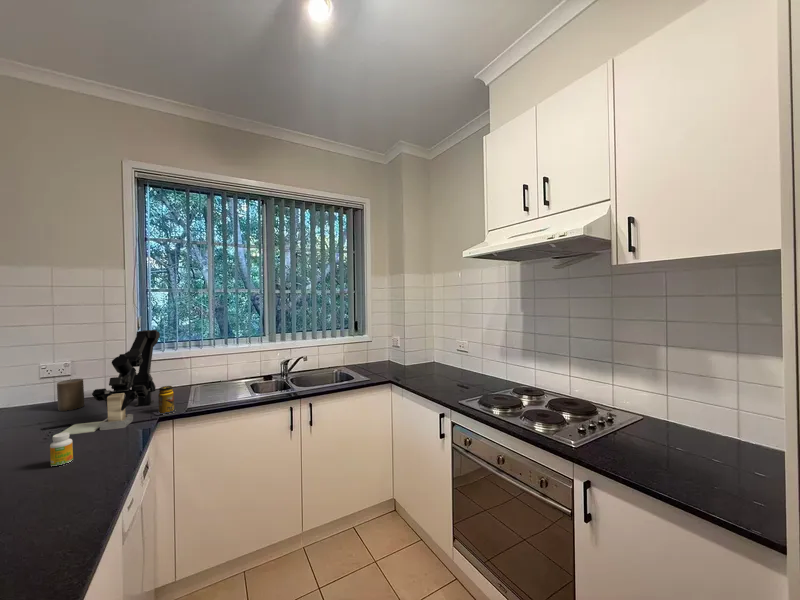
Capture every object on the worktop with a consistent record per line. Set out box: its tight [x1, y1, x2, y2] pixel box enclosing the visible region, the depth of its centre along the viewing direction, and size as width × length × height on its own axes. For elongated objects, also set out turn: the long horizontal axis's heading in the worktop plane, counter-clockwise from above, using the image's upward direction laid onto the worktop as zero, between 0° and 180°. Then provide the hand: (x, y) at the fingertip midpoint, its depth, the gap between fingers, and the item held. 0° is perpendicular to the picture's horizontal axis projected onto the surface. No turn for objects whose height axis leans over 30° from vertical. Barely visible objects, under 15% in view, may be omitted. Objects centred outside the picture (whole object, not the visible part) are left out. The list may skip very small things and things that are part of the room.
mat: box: [60, 420, 103, 435], centre depth 145 cm, size 12×12×1 cm
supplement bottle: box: [49, 432, 74, 467], centre depth 115 cm, size 5×5×10 cm
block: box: [106, 393, 127, 422], centre depth 148 cm, size 4×4×13 cm
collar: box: [99, 413, 134, 431], centre depth 148 cm, size 8×8×3 cm
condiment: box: [158, 385, 175, 413], centre depth 164 cm, size 7×8×12 cm
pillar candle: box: [56, 378, 85, 412], centre depth 172 cm, size 10×10×15 cm
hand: (115, 410), depth 147 cm, fingers closed on block, 4 cm apart
